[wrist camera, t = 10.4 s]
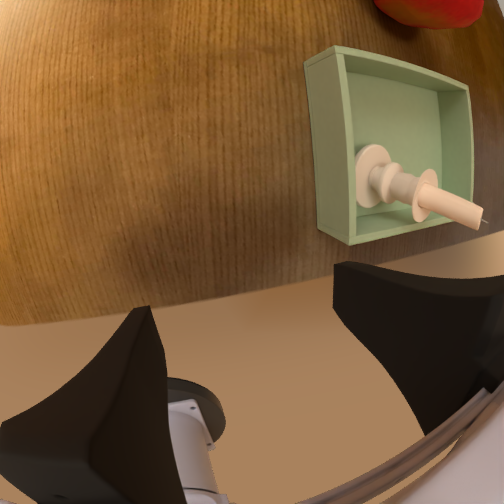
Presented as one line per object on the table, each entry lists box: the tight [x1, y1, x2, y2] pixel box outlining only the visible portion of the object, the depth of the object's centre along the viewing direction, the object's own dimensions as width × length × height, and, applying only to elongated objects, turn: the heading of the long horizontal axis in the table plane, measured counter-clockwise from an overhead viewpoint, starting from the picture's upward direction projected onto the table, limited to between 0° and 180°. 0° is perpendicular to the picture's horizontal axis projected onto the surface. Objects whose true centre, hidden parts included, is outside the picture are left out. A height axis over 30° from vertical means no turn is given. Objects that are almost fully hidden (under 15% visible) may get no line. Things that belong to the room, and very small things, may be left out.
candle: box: [355, 144, 488, 230], centre depth 17 cm, size 5×5×10 cm
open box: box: [303, 45, 474, 246], centre depth 20 cm, size 13×16×4 cm
